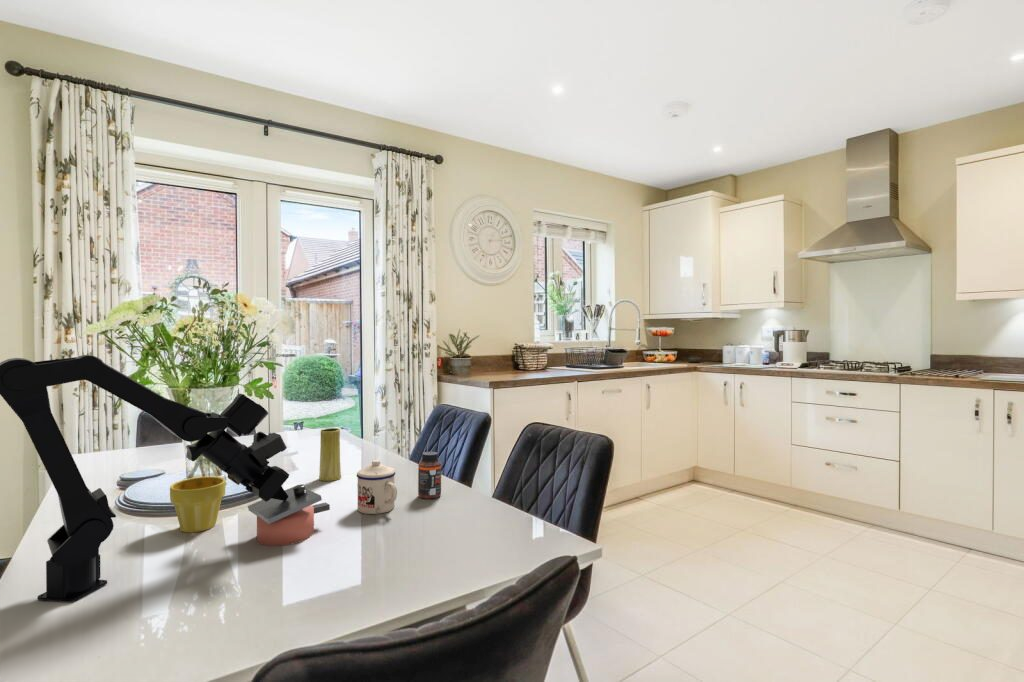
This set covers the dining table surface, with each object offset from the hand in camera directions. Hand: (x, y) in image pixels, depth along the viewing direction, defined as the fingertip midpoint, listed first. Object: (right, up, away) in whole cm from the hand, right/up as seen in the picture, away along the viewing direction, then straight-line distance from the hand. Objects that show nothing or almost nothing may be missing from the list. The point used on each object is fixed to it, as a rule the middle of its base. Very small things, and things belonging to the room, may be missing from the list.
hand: (286, 498), depth 111 cm
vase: (-5, -7, +43) cm, 44 cm away
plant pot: (-21, -8, +4) cm, 23 cm away
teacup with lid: (+16, -8, +16) cm, 24 cm away
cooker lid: (0, -1, 0) cm, 1 cm away
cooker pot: (+1, -8, +1) cm, 8 cm away
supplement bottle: (+26, -8, +27) cm, 38 cm away
